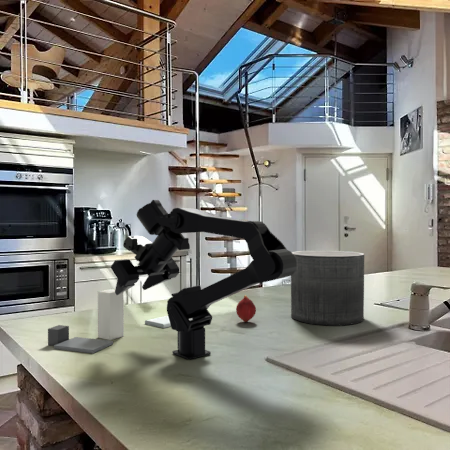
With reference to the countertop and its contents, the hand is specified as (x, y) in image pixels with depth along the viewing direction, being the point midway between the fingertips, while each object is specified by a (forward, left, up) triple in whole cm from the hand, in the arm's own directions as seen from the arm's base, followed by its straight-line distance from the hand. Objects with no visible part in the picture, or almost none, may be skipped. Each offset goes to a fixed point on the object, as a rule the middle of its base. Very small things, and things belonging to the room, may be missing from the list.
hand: (130, 291), depth 114 cm
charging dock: (+5, +12, -13) cm, 18 cm away
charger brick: (+7, +2, -13) cm, 15 cm away
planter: (-16, -59, -13) cm, 63 cm away
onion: (-4, -36, -13) cm, 39 cm away
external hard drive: (+11, -19, -13) cm, 26 cm away
